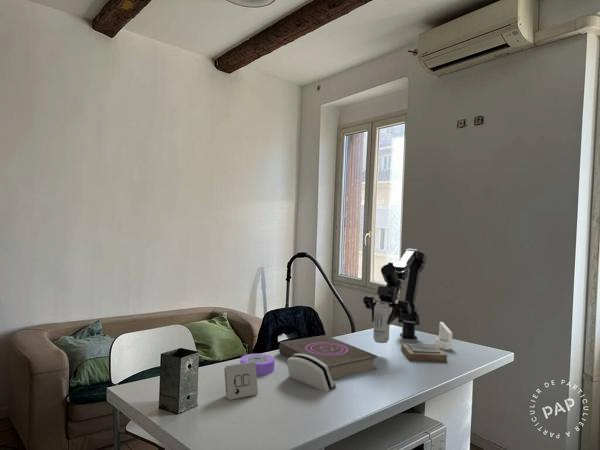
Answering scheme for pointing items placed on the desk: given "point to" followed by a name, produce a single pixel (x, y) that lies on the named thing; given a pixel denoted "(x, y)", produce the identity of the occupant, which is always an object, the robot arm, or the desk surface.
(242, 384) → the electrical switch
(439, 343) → the white angled block
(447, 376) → the desk surface
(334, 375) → the book
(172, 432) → the desk surface
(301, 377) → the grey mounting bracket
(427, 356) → the brown square frame
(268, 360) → the masking tape
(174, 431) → the desk surface
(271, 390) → the desk surface
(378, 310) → the energy drink can
